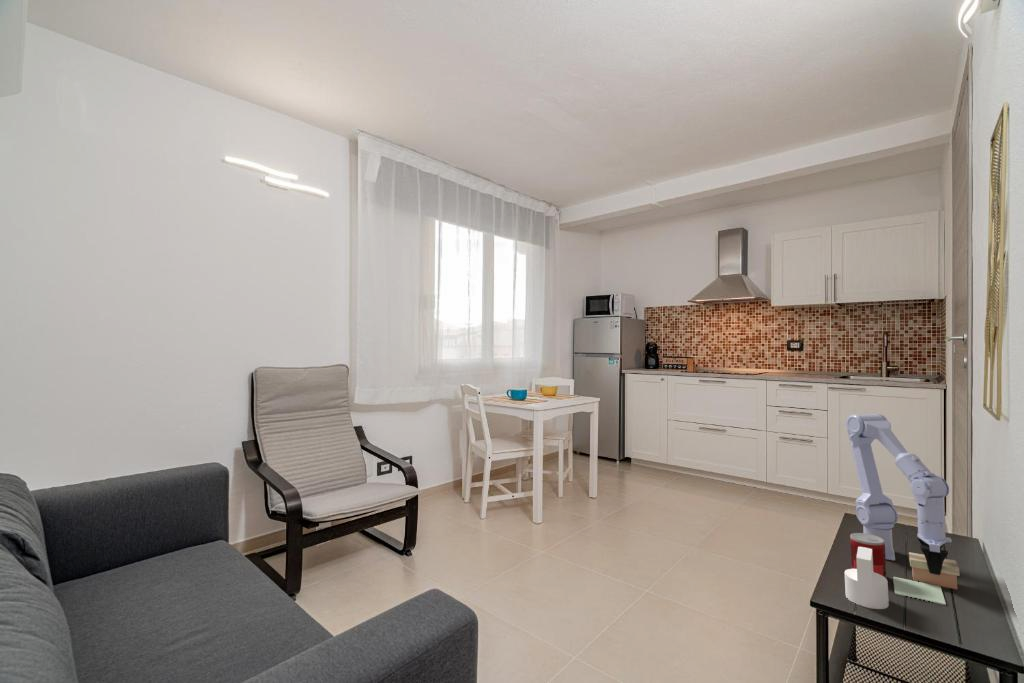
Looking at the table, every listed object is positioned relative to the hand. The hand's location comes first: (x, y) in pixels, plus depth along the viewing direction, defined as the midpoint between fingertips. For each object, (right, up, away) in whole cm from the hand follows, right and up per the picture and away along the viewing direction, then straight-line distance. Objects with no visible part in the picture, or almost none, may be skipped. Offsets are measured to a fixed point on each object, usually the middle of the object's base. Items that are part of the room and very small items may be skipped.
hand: (933, 569), depth 130 cm
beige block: (0, +1, 0) cm, 1 cm away
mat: (-9, -3, -5) cm, 10 cm away
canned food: (-15, -4, +4) cm, 16 cm away
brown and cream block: (0, -3, 0) cm, 3 cm away
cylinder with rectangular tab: (-25, -4, -9) cm, 27 cm away
